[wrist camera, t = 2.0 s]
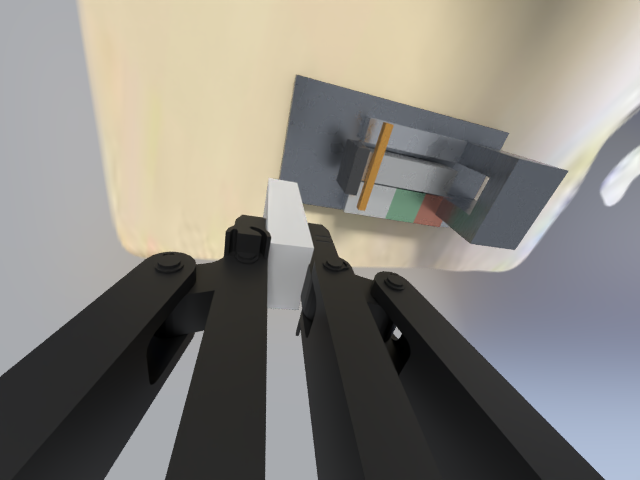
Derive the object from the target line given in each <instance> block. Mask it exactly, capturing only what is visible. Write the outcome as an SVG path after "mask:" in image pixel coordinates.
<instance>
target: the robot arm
mask: <svg viewBox="0 0 640 480" xmlns="http://www.w3.org/2000/svg"><path fill="white" fill-rule="evenodd" d="M300 301H301V302H302V312H301V315H300V319H299V323H298V327H297V330H296V336H298V335H299V333H300V330H301V336H302V345H303V354H304V363H305V371H306V380H307V388H308V397H309V406H310V414H311V423H312V432H313V440H314V448H315V458H316V466H317V474H318V480H605V479H604V478H603V477H602V476H601V475H600V474H599V473H598V472H597V471H596V470H595V469H594V468H593V467H592V466H591V465H590V464H589V463H588V462H587V461H586V460H585V459H584V458H583V457H582V456H581V455H580V454H579V453H578V452H577V451H576V450H575V449H574V448H573V447H572V446H571V445H570V444H569V443H568V442H567V441H566V440H565V439H564V438H563V437H562V436H561V435H560V434H559V433H558V432H557V431H556V430H555V429H554V428H553V427H552V426H551V425H550V424H549V423H548V422H547V421H546V420H545V419H544V418H543V417H542V416H541V415H540V414H539V413H538V412H537V411H536V410H535V409H534V408H533V407H532V406H531V405H530V404H529V403H528V402H527V401H526V400H525V399H524V397H523V396H522V395H521V394H520V393H518V392H517V390H516V389H515V388H514V387H513V386H512V385H511V384H510V383H509V382H507V380H506V379H505V378H504V377H503V376H502V375H501V374H500V373H499V372H498V371H497V370H496V369H495V368H494V367H493V366H492V365H491V364H490V363H489V362H488V361H487V360H486V359H485V358H484V357H483V356H482V355H481V354H480V353H479V352H478V351H477V350H476V349H475V348H474V347H473V346H472V345H471V344H470V343H469V342H468V341H467V340H466V339H465V338H464V337H463V336H462V335H461V334H460V333H459V332H458V331H457V330H456V329H455V328H454V327H453V326H452V325H451V324H450V323H449V322H448V321H447V320H446V319H445V318H444V317H443V316H442V315H441V314H440V313H439V312H438V311H437V310H436V309H435V308H434V307H433V306H432V305H431V304H430V303H429V302H428V301H427V300H426V299H425V298H424V297H423V296H422V295H421V294H420V293H419V292H418V291H417V290H416V289H415V288H414V287H413V286H412V285H411V284H410V283H409V282H408V281H407V280H406V279H405V278H403V277H401V276H399V275H398V274H396V273H392V272H384V271H383V272H379V273H377V274H376V275H375V278H374V280H370V279H367V278H363V277H360V276H357V275H355V274H354V272H353V270H352V267H351V266H350V264H349V263H348V262H346V261H345V260H344V259H342V258H339V256H338V254H337V251H336V249H335V246H334V243H333V241H332V238H331V236H330V233H329V231H328V230H327V229H326V228H325V227H324V226H323V225H319V224H312V223H307V219H306V215H305V211H304V207H303V204H302V200H301V196H300V192H299V188H298V184H297V183H295V182H290V181H284V180H278V179H272V178H269V179H268V187H267V194H266V201H265V208H264V215H263V218H262V217H255V216H247V215H241V216H240V217H239V218H237V219H236V221H235V225H234V226H232V227H229V228H228V229H227V231H226V236H225V250H224V257H223V258H222V259H220V260H218V261H215V262H212V263H206V264H198V265H197V264H196V262H195V260H194V259H193V258H192V257H191V256H189V255H187V254H184V253H179V252H163V253H159V254H155V255H152V256H151V257H149V258H147V259H145V260H144V261H143V262H142V263H141V264H139V265H138V266H137V267H135V268H134V269H133V270H132V271H130V272H129V273H128V274H127V275H126V276H124V277H123V278H122V279H121V280H119V281H118V282H117V283H116V284H114V285H113V286H112V287H111V288H110V289H108V290H107V291H106V292H104V293H103V294H102V295H101V296H100V297H98V298H97V299H96V300H95V301H94V302H92V303H91V304H90V305H88V306H87V307H86V308H85V309H83V310H82V311H81V312H80V313H78V314H77V315H76V316H75V317H74V318H72V319H71V320H70V321H69V322H67V323H66V324H65V325H64V326H62V327H61V328H60V329H59V330H58V331H56V332H55V333H54V334H53V335H51V336H50V337H49V338H48V339H46V340H45V341H44V342H43V343H42V344H40V345H39V346H38V347H36V348H35V349H34V350H33V351H31V352H30V353H29V354H28V355H27V356H25V357H24V358H23V359H22V360H20V361H19V362H18V363H17V364H16V365H14V366H13V367H12V368H11V369H9V370H8V371H7V372H6V373H4V374H3V375H2V376H1V377H0V480H104V478H105V477H106V475H107V474H108V472H109V470H110V469H111V467H112V466H113V464H114V462H115V460H116V459H117V458H118V456H119V454H120V453H121V451H122V450H123V448H124V447H125V445H126V443H127V442H128V440H129V439H130V437H131V435H132V434H133V432H134V431H135V429H136V428H137V426H138V424H139V423H140V421H141V420H142V418H143V416H144V415H145V413H146V411H147V410H148V408H149V407H150V405H151V404H152V402H153V400H154V399H155V397H156V395H157V394H158V393H159V391H160V389H161V388H162V386H163V384H164V383H165V381H166V380H167V378H168V377H169V375H170V373H171V372H172V370H173V369H174V367H175V366H176V364H177V362H178V361H179V359H180V358H181V356H182V354H183V353H184V351H185V349H186V348H187V346H188V345H189V343H190V342H191V340H192V339H193V337H194V334H195V332H198V331H203V330H204V334H203V337H202V341H201V345H200V349H199V353H198V357H197V360H196V364H195V368H194V372H193V375H192V380H191V383H190V387H189V391H188V395H187V398H186V402H185V406H184V410H183V414H182V417H181V421H180V425H179V429H178V432H177V436H176V440H175V444H174V448H173V451H172V455H171V459H170V463H169V467H168V471H167V474H166V478H165V480H265V443H266V442H265V440H266V364H267V308H275V309H292V310H298V309H299V305H300ZM396 326H397V328H398V329H399V330H400V331H401V333H402V335H401V337H400V338H399V339H398V338H397V337H395V335H394V334H393V331H394V330H395V328H396Z"/></svg>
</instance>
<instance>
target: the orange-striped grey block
mask: <svg viewBox="0 0 640 480" xmlns="http://www.w3.org/2000/svg"><path fill="white" fill-rule="evenodd" d="M393 126H394V125H393V124H390V123H386V122H383V125H382V128H381V131H380V134H379V137H378V140H377V144H376V147H375V149H373V148H368V147H366V146H365V145H363V144H362V143H360V142H359V141H356V140H351V139H347V142H346V146H345V150H344V153H343V157H342V161H341V165H340V168H339V172H338V176H337V180H336V181H337V182H338V184H339V185H340V187H341V188H342V190H343V192H344V193H345V194H349V195H355V196H357V192H358V189H359V186H360V183H361V181H364V185H363V188H362V191H361V194H360V197H359V200H358V203H357V209H358V210H362V211H365V210H366V207H367V204H368V201H369V198H370V195H371V192H372V189H373V186H374V183H377V184H383V185H388V186H393V187H399V188H404V189H409V190H414V191H420V192H425V193H430V194H436V195H441V196H447V194H448V192H449V190H450V188H451V186H452V184H453V181H454V179H455V177H456V175H457V173H458V171H456V170H454V169H452V168H450V167H448V166H446V165H444V164H440V163H436V162H431V161H427V160H422V159H418V158H413V157H409V156H404V155H400V154H395V153H391V152H386V151H385V150H386V147H387V144H388V141H389V138H390V135H391V132H392V129H393Z"/></svg>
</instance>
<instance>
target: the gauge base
mask: <svg viewBox="0 0 640 480" xmlns="http://www.w3.org/2000/svg"><path fill="white" fill-rule="evenodd" d="M383 122H386V123H390V124H393V125H394V126H393V129H392V132H391V135H390V138H389V141H388V144H387V147H386V150H385V151H386V152H391V153H395V154H400V155H404V156H409V157H413V158H418V159H422V160H427V161H431V162H436V163H440V164H444V165H446V166H448V167H450V168H452V169H454V170H456V171H458V173H457V175H456V177H455V179H454V181H453V184H452V186H451V188H450V190H449V192H448V194H447V196H441V195H436V194H430V193H425V192H420V191H414V190H409V189H404V188H399V187H393V186H388V185H383V184H377V183H374V186H373V189H372V192H371V195H370V198H369V201H368V204H367V207H366V210H365V211H362V210H358V209H357V203H358V200H359V197H360V194H361V191H362V188H363V185H364V181H361V183H360V186H359V189H358V192H357V196H355V195H349V194H345V193H344V192H343V190H342V188H341V187H340V185H339V184H338V182H337V181H336V180H337V176H338V172H339V168H340V165H341V161H342V157H343V153H344V150H345V146H346V142H347V139H351V140H356V141H359V142H360V143H362V144H363V145H365V146H366V147H368V148H373V149H375V147H376V144H377V140H378V137H379V134H380V131H381V128H382V125H383ZM508 134H509V133H507V132H503V131H500V130H496V129H492V128H489V127H485V126H482V125H478V124H474V123H471V122H467V121H463V120H460V119H456V118H452V117H449V116H445V115H442V114H438V113H434V112H431V111H427V110H423V109H420V108H416V107H412V106H409V105H405V104H401V103H398V102H394V101H391V100H387V99H383V98H380V97H376V96H372V95H369V94H365V93H361V92H358V91H354V90H351V89H347V88H343V87H340V86H336V85H332V84H329V83H325V82H321V81H318V80H314V79H310V78H307V77H303V76H300V75H296V77H295V83H294V89H293V95H292V102H291V108H290V114H289V120H288V127H287V133H286V139H285V145H284V152H283V158H282V164H281V170H280V177H279V180H284V181H290V182H295V183H297V184H298V188H299V192H300V196H301V200H302V203H304V204H310V205H316V206H323V207H329V208H336V209H342V210H343V212H345V213H352V214H358V215H365V216H371V217H378V218H384V219H391V220H398V221H404V222H411V223H417V224H424V225H430V226H437V227H440V226H442V227H448V226H450V227H451V228H452V229H453V230H454V231H456V232H457V233H458V234H459V235H461V236H462V237H463V238H464V239H465V240H467V241H468V242H469V243H470V244H476V245H484V246H491V247H498V248H505V249H512V250H515V249H516V248H517V246H518V245H519V243H520V242H521V240H522V239H523V237H524V236H525V234H526V233H527V231H528V230H529V228H530V227H531V226H532V224H533V223H534V221H535V220H536V218H537V217H538V215H539V214H540V212H541V211H542V209H543V208H544V206H545V205H546V203H547V202H548V200H549V199H550V198H551V196H552V195H553V193H554V192H555V190H556V189H557V187H558V186H559V184H560V183H561V181H562V180H563V178H564V177H565V175H566V174H567V173H568V171H567V170H564V169H561V168H557V167H554V166H551V165H548V164H544V163H541V162H538V161H535V160H531V159H528V158H525V157H522V156H518V155H515V154H512V153H509V152H505V151H502V150H500V149H501V148H502V146H503V144H504V142H505V140H506V138H507V136H508ZM486 176H488V177H490V179H489V180H488V182H487V184H486V186H485V188H484V190H483V191H482V193H481V195H480V197H479V199H478V201H476V200H474V198H475V196H476V194H477V192H478V190H479V189H480V187H481V185H482V183H483V181H484V179H485V177H486Z"/></svg>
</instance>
